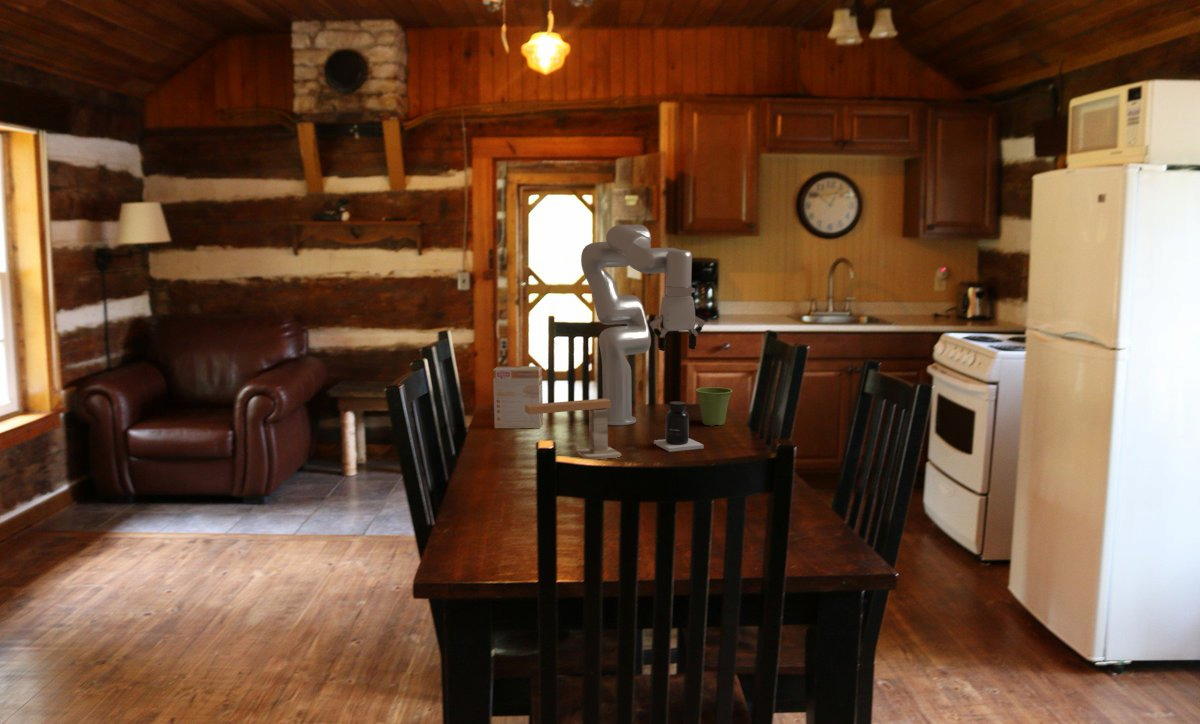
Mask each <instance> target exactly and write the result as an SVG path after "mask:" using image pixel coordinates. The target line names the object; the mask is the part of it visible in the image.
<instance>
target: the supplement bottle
mask: <svg viewBox="0 0 1200 724" xmlns="http://www.w3.org/2000/svg"><path fill="white" fill-rule="evenodd" d="M668 408H669V410H668V411H667V413H666V414H665V439H666V442H667V443H668V444H673V445H683V444H687V443H688V439H689V433H690V431H689V430H690V429H689V428H690V414H689V412H687V411H686V410H687V403H686V402H684V401H678V400H677V401H670V402H669V407H668Z"/></svg>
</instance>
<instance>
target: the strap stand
mask: <svg viewBox="0 0 1200 724" xmlns="http://www.w3.org/2000/svg"><path fill="white" fill-rule="evenodd" d="M588 412H589V413H588V414H589V416H588V417H589V418H588V420H589V421H588V424H589V427H588V428H589V429H588V431H589V447H588V448H587V447H586V448H579V449H578V448H577V449H575V450H576V451H578V452H580V453H581V454H582V455H584V456H583V457H585V458H594V459H602V460H601V461H605V460H608V459H607V458H616V459H618V458H617V457H620V456H623V455H622V453H621V452H619V451H618V450H616V449H614V448H612V447H611V446H608V445H609V444H608V443H609V441H608V440H609V439H608V433H609V432H608V430H609V429H608V426H609V425H607V409H606V408H603V409H591V410H588ZM576 451H575V452H576Z"/></svg>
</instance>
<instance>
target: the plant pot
mask: <svg viewBox="0 0 1200 724" xmlns="http://www.w3.org/2000/svg"><path fill="white" fill-rule="evenodd" d="M695 392H697V398H698V401H699V408H700V409H699V410H700V415H701V416H700V417H701V423H702V424H703V425H705V426H713V427H714V426H715V425H717V426H722V425H725V423H726V419H727V411H728V406H729V401H730V399H731V394H732V393H733V389H731V388H727V387H726V388H725V387H719V386H718V387H716V386H715V387H713V386H711V387H710V386H708V387H707V386H706V387H698V388H696V389H695Z"/></svg>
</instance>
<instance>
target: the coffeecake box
mask: <svg viewBox="0 0 1200 724" xmlns="http://www.w3.org/2000/svg"><path fill="white" fill-rule="evenodd" d="M542 367H543V366H540V365H538V366H533V365H532V366H531V365H530V366H529V365H527V366H520V365H519V366H517V365H516V366H498V365H497V366H496V367H495V368H493V370H492V375H493V376H492V378H493V379H492V381H493V384H492V385H493V413H494V414H493V415H494V416H493V419H494V429H520V428H534V429H535V430H536V429H537V430H538V429H539V430H540V429H541V428H542V426H543V425H544V413H542V414H530V415H529V414H528V413H526V412H525V405H529V404H542V403H543V368H542ZM534 429H533V430H534Z"/></svg>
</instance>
